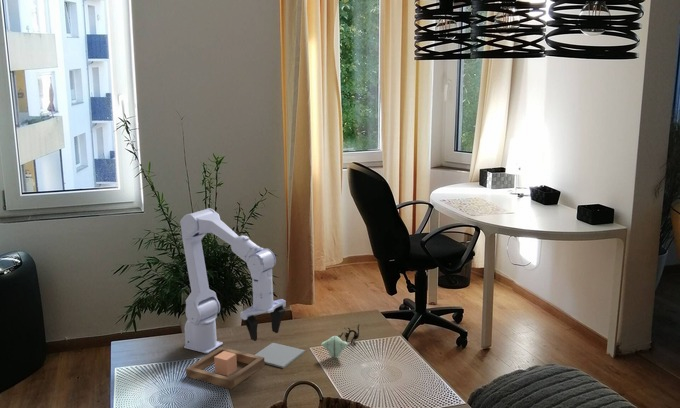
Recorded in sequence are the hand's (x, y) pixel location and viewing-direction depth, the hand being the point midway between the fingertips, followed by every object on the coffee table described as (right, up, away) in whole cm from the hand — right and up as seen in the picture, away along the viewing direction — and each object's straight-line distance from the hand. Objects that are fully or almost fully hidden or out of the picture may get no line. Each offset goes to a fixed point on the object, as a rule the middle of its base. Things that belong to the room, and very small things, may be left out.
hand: (264, 335), depth 198 cm
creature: (+24, -6, +19) cm, 31 cm away
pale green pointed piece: (+20, -8, +8) cm, 23 cm away
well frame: (-11, -10, 0) cm, 15 cm away
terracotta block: (-11, -10, 0) cm, 15 cm away
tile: (+3, -8, +9) cm, 12 cm away
